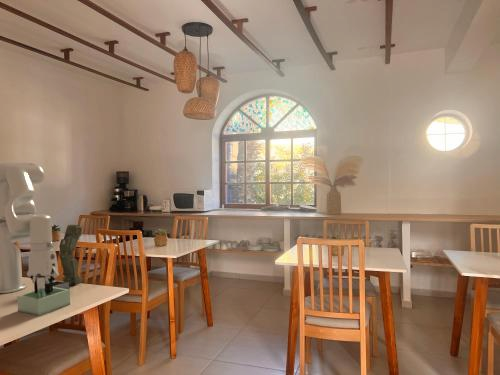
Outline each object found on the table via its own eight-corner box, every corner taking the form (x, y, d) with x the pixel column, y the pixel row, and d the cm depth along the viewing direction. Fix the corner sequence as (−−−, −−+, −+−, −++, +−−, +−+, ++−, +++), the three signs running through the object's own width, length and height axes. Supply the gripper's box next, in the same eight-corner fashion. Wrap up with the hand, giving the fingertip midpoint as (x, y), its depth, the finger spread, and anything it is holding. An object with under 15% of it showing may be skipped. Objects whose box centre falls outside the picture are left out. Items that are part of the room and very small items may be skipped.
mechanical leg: (64, 288, 162) (72, 223, 168) (50, 288, 163) (59, 223, 169) (84, 287, 175) (90, 226, 181) (71, 286, 176) (78, 226, 183)
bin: (18, 311, 137) (17, 295, 137) (50, 300, 149) (49, 286, 149) (38, 316, 131) (37, 300, 131) (70, 304, 143) (69, 289, 143)
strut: (43, 298, 143) (42, 268, 142) (53, 298, 142) (52, 268, 142) (34, 302, 138) (33, 271, 138) (44, 302, 137) (43, 271, 137)
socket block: (41, 296, 154) (40, 285, 154) (58, 291, 161) (57, 280, 161) (52, 299, 150) (52, 287, 150) (69, 293, 158) (69, 282, 157)
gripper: (66, 245, 141) (69, 290, 142) (31, 244, 145) (33, 288, 146) (52, 248, 134) (54, 296, 135) (15, 248, 138) (18, 294, 138)
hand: (43, 292), depth 140 cm, fingers closed on strut, 4 cm apart
